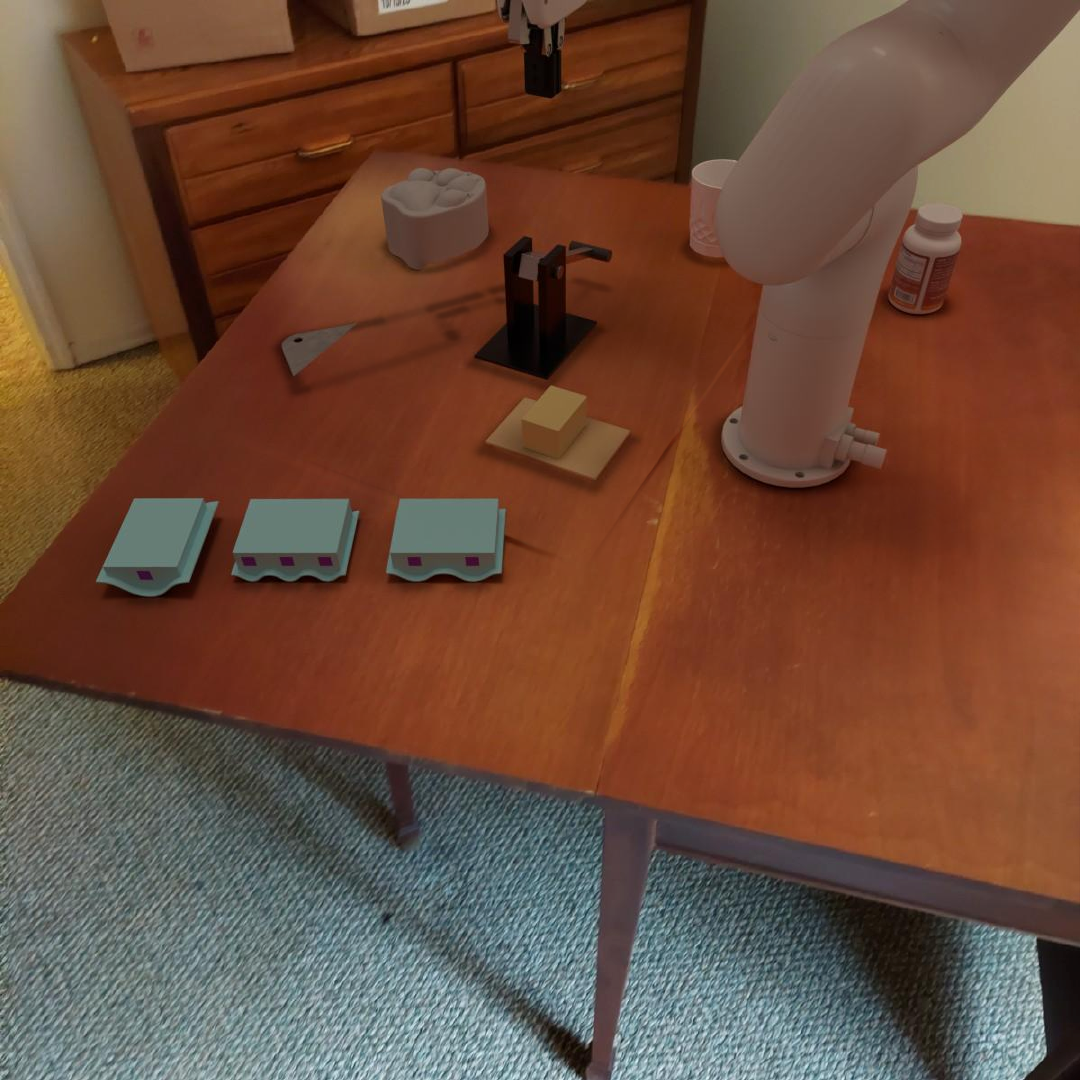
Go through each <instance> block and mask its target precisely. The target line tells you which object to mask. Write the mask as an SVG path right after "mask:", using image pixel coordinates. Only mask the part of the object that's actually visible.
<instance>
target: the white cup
mask: <svg viewBox="0 0 1080 1080" xmlns="http://www.w3.org/2000/svg"><path fill="white" fill-rule="evenodd" d="M737 162H738V160H735V159H724V158H723V159H722V158H720V159H710V160H706V161H703V162H700V163H698V164H697V165H695V166H694V167H693V168H692V170H691V180H690V181H691V182H690V198H689V199H690V201H689V202H690V203H689V234H690V235H689V247H690V248H691V249H692V250H693V252H696V253H698V254H699V255H702V256H704V257H711V258H715V259H717V258H724V256H723V254H722V252H721V250H720V247H719V244H718V241H717V236H716V228H715V216H716V208H717V203H718V199H719V196H720V193H721V190H722V188H723V185H724V183H725V181H726V179H727V178H728V176H729V174H730V172H731V171H732V169H733V168H734V166H735V165H736V163H737Z"/></svg>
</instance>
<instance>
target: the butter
mask: <svg viewBox="0 0 1080 1080" xmlns="http://www.w3.org/2000/svg"><path fill="white" fill-rule="evenodd" d="M536 401H537V402H536V403H535V404H534V405H533V406H532V407H531V409H530V410H529V411H528V412H527V413H526V414H525V415H524V417H523V418H522V419H521V422H522V446H523V447H524V448H527V449H529V450H532V451H535V452H538V453H541V454H544V455H547V456H550V457H553V458H556V459H559V458H560V457H561V456H562V455H563V453H564V452H565V451H566V450H567V448H568V447H569V446H570V445H571V443H572V442H573V441H574V439H575V438H576V437H577V436H578V434H579V433H580V432H581V431H582V429H583V428H584V427H585V426H586V423H587V417H588V415H587V414H588V396H587V395H584V394H581V393H577V392H574V391H571V390H568V389H564V388H561V387H558V386H556V385H555V386H554V385H550V386H549V387H548V388H546V390H545V391H544V392H543V394H542V395H541V396H540V397H539V398H538V399H537V400H536Z"/></svg>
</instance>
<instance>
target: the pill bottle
mask: <svg viewBox="0 0 1080 1080" xmlns="http://www.w3.org/2000/svg"><path fill="white" fill-rule="evenodd" d="M963 216H964V215H963V212H962V211H961V210H960V209H959V208H957V207H956V206H953V205H950V204H947V203H942V202H931V203H926V204H923V205H921V206H920V207H919V208H918V209H917V212H916V215H915V219H914V224H912V225H911V226H909V227H908V228H907V229H906V230H905V232H904V234H903V238H902V241H901V245H900V248H899V251H898V255H897V259H896V263H895V268H894V269H893V270H894V271H893V273H892V278H891V281H890V286H889V290H888V294H887V295H888V296H887V297H888V300H889V302H890V304H891V305H892V306H893V307H895V308H896V309H897V310H900V311H902V312H904V313H908V314H912V315H927V314H930V313H934V312H936V311H938V310H939V309H940V308H942V306H943V304H944V301H945V300H946V299H945V298H946V295H947V292H948V289H949V286H950V282H951V279H952V277H953V273H954V270H955V266H956V263H957V260H958V256H959V253H960V250H961V246H962V236H961V234H960V232H959V231H958V230H959V228H961V224H962V221H963Z"/></svg>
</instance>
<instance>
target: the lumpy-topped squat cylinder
mask: <svg viewBox="0 0 1080 1080" xmlns="http://www.w3.org/2000/svg"><path fill="white" fill-rule="evenodd" d="M380 199H381V207H382V214H383V222H384V227H385V229H384V230H385V236H386V242H387V249H388V251H389V253H391V254H392V255H394V256H396V257H398V258H400V259H401V260H402V261H403V262H404V263H405V264H406V265H407V266H408V267H409V268H410V269H413V270H416V271H422V270H423V269H425V267H427V266H428V265H431V264H437V263H440V262H445V261H448V260H450V259H453V258H456V257H458V256H461V255H464V254H466V253H469V252H472V251H473V250H475V249H477V248H478V247H479V246H480V245H481V244H482V243H484V241H485V240H486V239H487V237H488V235H489V231H490V227H489V212H488V196H487V183H486V181H485V179H484V177H482V175H479V174H476V173H474V172H473V173H472V172H470V171H462V170H461V169H458V168H454V167H448V168H445V169H443V170H441V171H440V170H438V169H437V170H434V171H432V170H430V169H428V168H426V167H417V168H415V169H413V170H411V171H410V172H409V174H408V175H407V179H403V180H402V181H398V182H396V183H393V184H391V185H389V186H387V187H386V188H384V190H383V191H382V193H381V194H380Z"/></svg>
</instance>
